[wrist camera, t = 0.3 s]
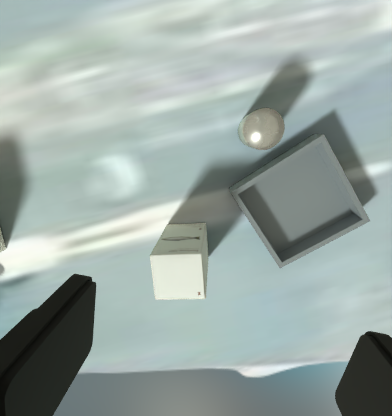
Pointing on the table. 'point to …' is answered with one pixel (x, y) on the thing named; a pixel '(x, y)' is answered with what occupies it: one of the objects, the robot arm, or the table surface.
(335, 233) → the tray
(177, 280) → the supplement box
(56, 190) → the table surface
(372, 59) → the table surface
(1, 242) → the supplement box
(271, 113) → the tin can
